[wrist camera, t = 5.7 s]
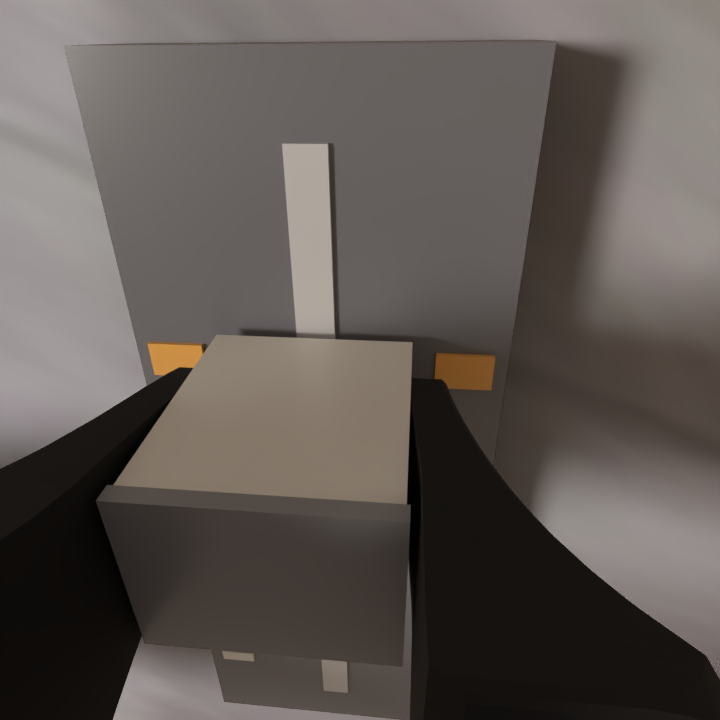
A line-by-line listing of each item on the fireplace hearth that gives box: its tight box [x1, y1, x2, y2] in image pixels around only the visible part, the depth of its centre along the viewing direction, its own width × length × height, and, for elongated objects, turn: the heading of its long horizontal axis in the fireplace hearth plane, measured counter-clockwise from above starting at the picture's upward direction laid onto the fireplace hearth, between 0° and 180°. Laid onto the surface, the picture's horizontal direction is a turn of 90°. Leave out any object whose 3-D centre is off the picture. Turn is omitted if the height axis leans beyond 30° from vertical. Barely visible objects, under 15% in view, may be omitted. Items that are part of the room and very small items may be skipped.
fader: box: [96, 335, 413, 667], centre depth 10 cm, size 3×4×5 cm
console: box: [64, 40, 556, 720], centre depth 15 cm, size 20×8×2 cm, turn 1°
